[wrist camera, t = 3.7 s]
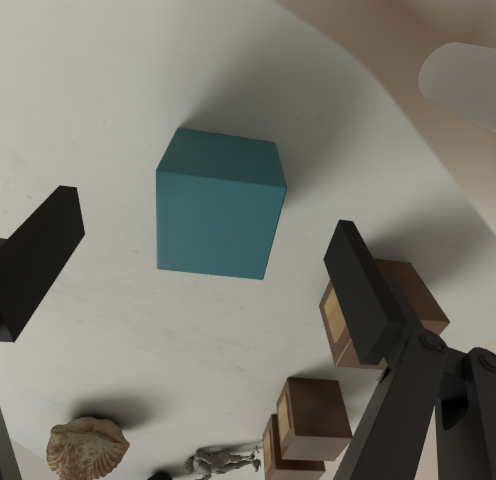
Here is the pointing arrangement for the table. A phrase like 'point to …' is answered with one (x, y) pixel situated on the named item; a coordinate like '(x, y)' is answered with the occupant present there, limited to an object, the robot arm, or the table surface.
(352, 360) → the walnut block
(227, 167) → the teal block
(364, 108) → the table surface
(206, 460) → the figurine
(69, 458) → the seashell
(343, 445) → the walnut block
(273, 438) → the walnut block
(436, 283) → the table surface
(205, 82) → the table surface
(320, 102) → the table surface
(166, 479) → the billiard ball
